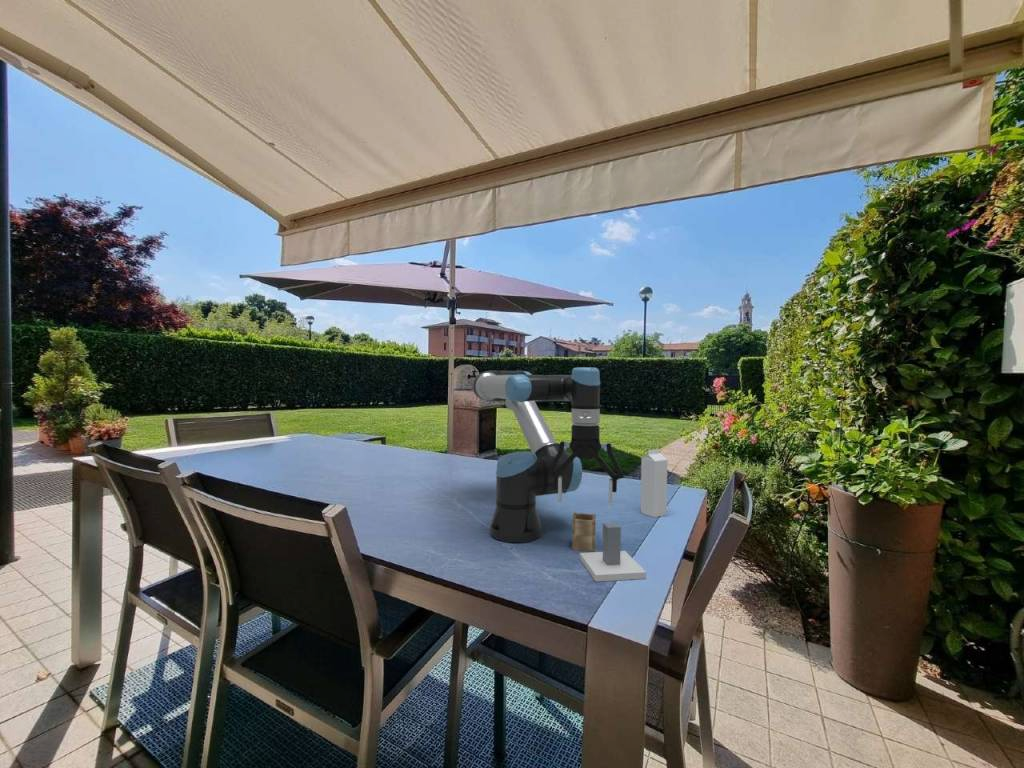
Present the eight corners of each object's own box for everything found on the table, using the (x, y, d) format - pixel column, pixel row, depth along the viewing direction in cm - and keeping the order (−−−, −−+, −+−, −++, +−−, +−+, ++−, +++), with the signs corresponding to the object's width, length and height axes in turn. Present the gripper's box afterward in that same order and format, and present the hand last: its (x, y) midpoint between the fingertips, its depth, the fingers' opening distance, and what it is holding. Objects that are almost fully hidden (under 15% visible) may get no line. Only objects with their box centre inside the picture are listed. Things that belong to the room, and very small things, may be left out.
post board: (595, 581, 94) (596, 535, 94) (579, 558, 106) (580, 517, 106) (646, 578, 96) (646, 533, 96) (624, 556, 108) (625, 515, 108)
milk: (666, 515, 141) (668, 450, 140) (654, 518, 138) (655, 451, 137) (652, 510, 146) (654, 447, 146) (640, 512, 143) (641, 448, 143)
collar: (572, 549, 112) (572, 519, 112) (573, 541, 118) (573, 512, 118) (594, 551, 111) (595, 521, 110) (595, 542, 116) (595, 514, 116)
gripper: (537, 424, 113) (537, 503, 113) (634, 427, 107) (633, 509, 107) (541, 421, 120) (541, 495, 120) (632, 424, 115) (631, 501, 115)
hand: (584, 502), depth 114 cm, fingers open, 13 cm apart
